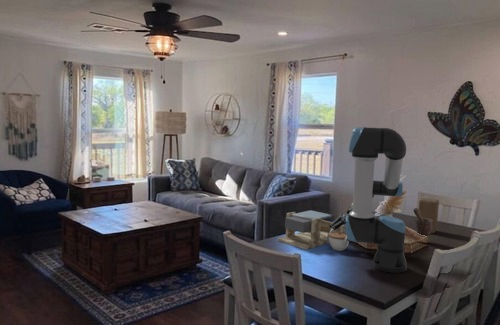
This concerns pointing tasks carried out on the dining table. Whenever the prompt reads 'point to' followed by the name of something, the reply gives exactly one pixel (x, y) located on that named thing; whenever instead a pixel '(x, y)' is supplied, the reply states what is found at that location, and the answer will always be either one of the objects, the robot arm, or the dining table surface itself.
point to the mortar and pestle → (422, 224)
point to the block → (429, 211)
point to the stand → (309, 234)
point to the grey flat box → (303, 220)
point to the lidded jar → (337, 240)
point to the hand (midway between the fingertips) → (335, 242)
